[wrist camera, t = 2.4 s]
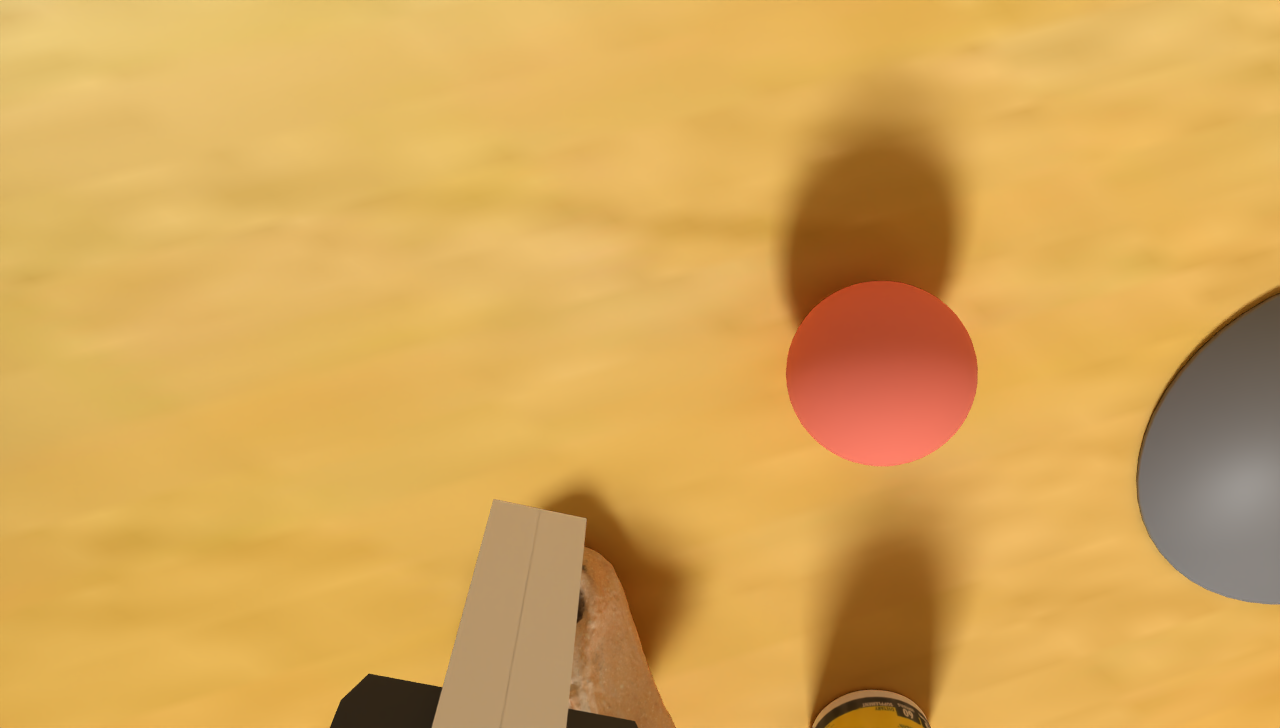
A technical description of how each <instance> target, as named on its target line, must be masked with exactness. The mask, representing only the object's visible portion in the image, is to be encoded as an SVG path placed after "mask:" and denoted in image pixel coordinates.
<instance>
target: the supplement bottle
mask: <svg viewBox="0 0 1280 728" xmlns="http://www.w3.org/2000/svg"><path fill="white" fill-rule="evenodd" d="M812 728H931V727H930V725H929V722H928V720H927V718H926V716H925V715H924V713H923V711H922V710H921V709H920V708H919V707H918V706H917V705H916V704H915V703H914V702H913V701H911V700H910V699H908V698H907V697H905V696H903V695H900V694H897V693H894V692H890V691H883V690H862V691H856V692H852V693H849V694H846V695H844V696H841V697H839V698H838V699H836V700H834V701H833V702H831V703H830V704H828V705H827V706H826V707H825V708H824V709H823V710H822V711H821V712H820V714H819V715H818V716H817V718H816V720H815V722H814V724H813V726H812Z"/></svg>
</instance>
